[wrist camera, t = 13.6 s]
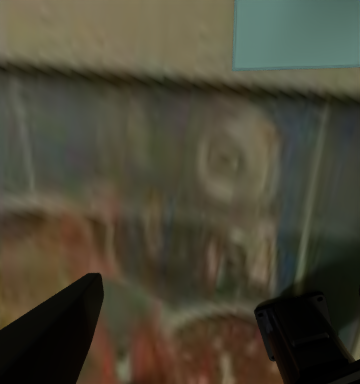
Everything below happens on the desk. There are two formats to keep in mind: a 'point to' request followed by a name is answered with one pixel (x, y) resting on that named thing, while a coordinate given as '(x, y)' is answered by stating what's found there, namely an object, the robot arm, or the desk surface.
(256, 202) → the desk surface
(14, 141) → the desk surface
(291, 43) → the holder
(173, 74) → the desk surface
